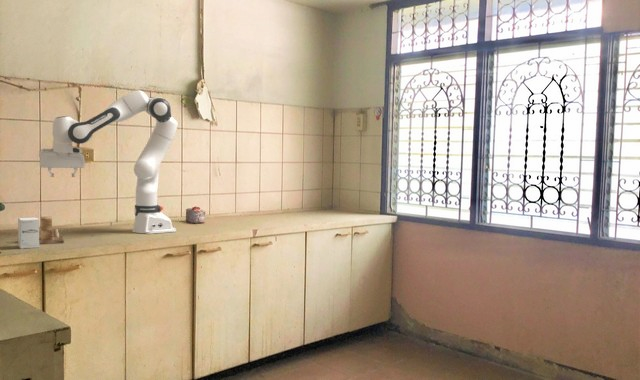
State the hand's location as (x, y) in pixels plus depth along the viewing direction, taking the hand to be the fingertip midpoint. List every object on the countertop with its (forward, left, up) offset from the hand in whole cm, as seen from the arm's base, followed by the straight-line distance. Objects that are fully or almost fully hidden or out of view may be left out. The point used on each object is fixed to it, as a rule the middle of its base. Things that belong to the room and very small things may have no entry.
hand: (62, 176), depth 263 cm
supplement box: (+15, +30, -29) cm, 44 cm away
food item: (-73, -24, -29) cm, 82 cm away
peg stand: (+8, +18, -29) cm, 35 cm away
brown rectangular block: (+8, +18, -28) cm, 34 cm away
